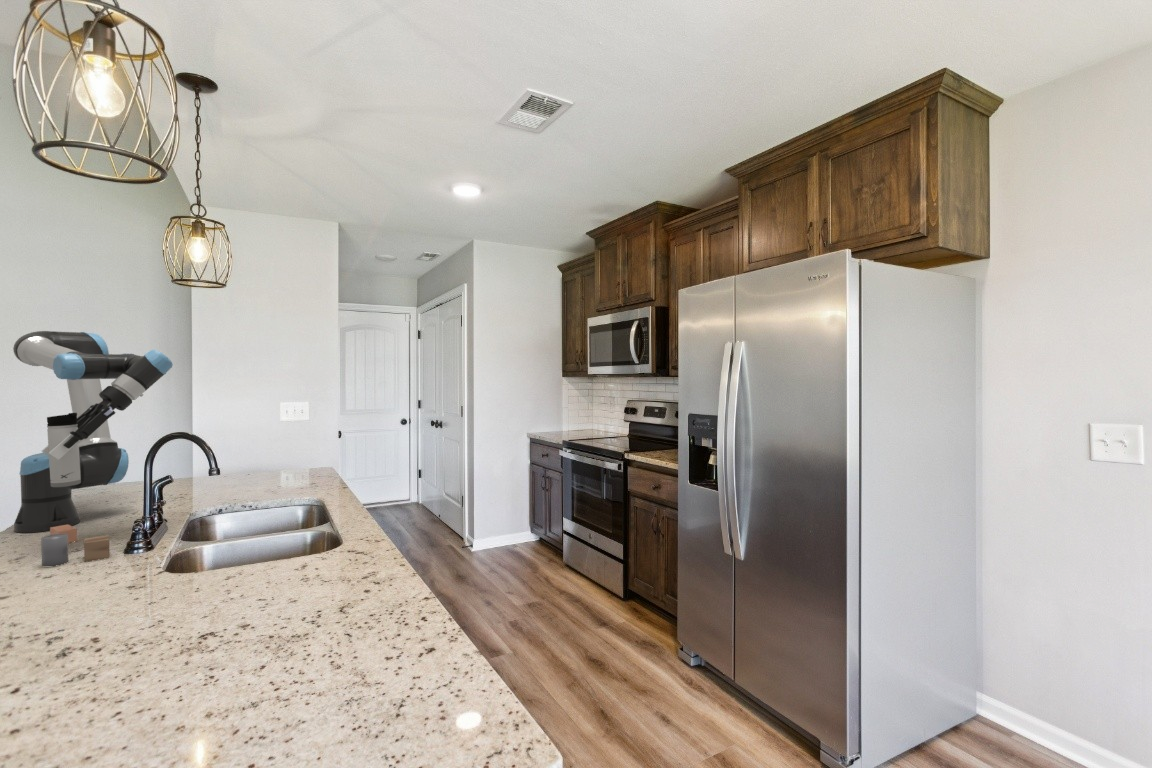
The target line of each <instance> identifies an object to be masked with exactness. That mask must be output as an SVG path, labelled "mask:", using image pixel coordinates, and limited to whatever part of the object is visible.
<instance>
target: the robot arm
mask: <svg viewBox="0 0 1152 768" xmlns="http://www.w3.org/2000/svg"><path fill="white" fill-rule="evenodd" d="M12 349H13V353H14V356H15V357H16V359H17V360H19V361H20V362H22V363H24V364H26V365H29V366H32V367H33V366H34V367H43V368H46V369H50V370H53V373H54V375H55V376H56V378H57V379H59V380H66V384H67V389H68V394H69V400H70V406H71V413H77V424H78V426H77V427H78V429H77V430H76V431H75V432H74V431H72V432H70V434H72V435H73V436H72V435H69V436H68V437H67V438H65V439H64V440H63V441H62V442H61V443H60V444H59V445H57V446H56V447H55V448H54V449H53V450H52V451H50V452H49V449H48V445H46V446H45V447H44V448H43V449H41V452H39V453H35V454H31V455H29V456H28V455H27V456H26V457H24V458H23V459H22V460H21V461H20V468H19V469H20V470H19V476H20V497H21V498H20V499H21V500H20V501H21V504H20V508H19V509H18V512H17V516H16V518H15V519H14V523H13V531H14V532H16V533H20V534H21V533H24V534H25V533H39V532H47V531H50V527H56V526H62V525H67V524H68V525H70V526H72V527H73V526H74V525H75V526H76V525H77V524H78V523H80V514H79V512H78V509H77V508H76V506H75V503H74V502H73V498H72V490H79V489H84V488H85V489H86V488H91V487H97V486H98V487H99V486H107V485H110V484H116V483H119V482H121V481H122V480H124V478H125V477H126V475H127V472H128V470H129V464H130V463H129V454H128V452H127V450H126V449H125V448H122V447H119V444H118V442H117V441H116V440H114V439H112V438H111V433H110V427H109V423H108V422H109V421H108V419H110V418H111V417H112V416H114V415H115V414H116V411H115V409H116V410H118V411H125V410H126V409H127V408H128V407H129V406H131V404H133V401H136V400H137V399H139V397H141V398H142V397H143V396H144V394H143V393H145V392H146V391H147V390H148V389H149V388H151V387H152V386H153V385H154V384H155V383H157V381H158V380H160V379H161V378H162V377H163V376H165V375H166V374H167V373H168V372H169V371H170V370H171V369H172V368H173V366H174V365H173V361H172V360H171V359H170V358H169V357H168V356H167V355H166V354H164V353H163V352H160V351H159V350H156V349H151V350H149V351H148V352H145V353H144V355H138V354H134V353H120V354H118V353H117V354H112V353H111V354H110V351H109V348H108V344H107V342H106V341H105V339H104V338H103V337H102V336H100V335H99V334H97V333H93V332H92V333H91V332H85V331H80V332H77V331H75V332H73V331H54V330H53V331H51V330H50V331H49V330H39V331H38V330H37V331H33V332H32V331H31V332H30V333H26V334H24V335H22V336H20V337H19V338H17V340H16V341H15V343H14V345H13V347H12ZM101 380H113V381H112V382H110V385H107V386H106V387H105V388H104V389H102V388H103V387H102V382H101ZM78 442H79V457H80V475H81V477H80V478H81V483H80V484H77V485H73V486H66V487H51V480H50V465H49V454H50V455H52V456H53V457H55V458H57V459H58V460H59V459H60V458H61V457H62V456H63V455H65V454H66V453H67V452H68V451H69V450H70V449H71V448H73V447H74V446H75V445H76V444H77V443H78Z"/></svg>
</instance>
